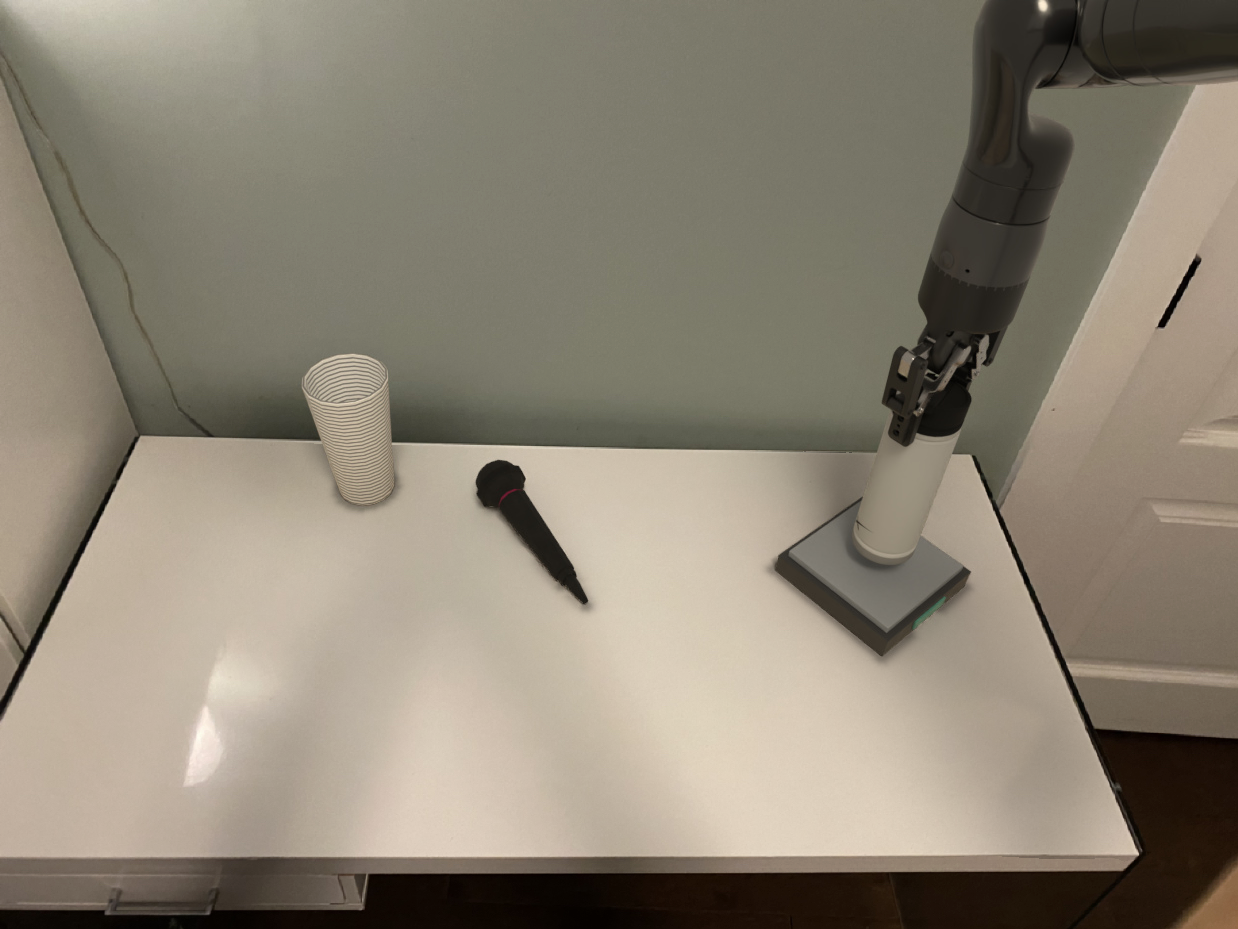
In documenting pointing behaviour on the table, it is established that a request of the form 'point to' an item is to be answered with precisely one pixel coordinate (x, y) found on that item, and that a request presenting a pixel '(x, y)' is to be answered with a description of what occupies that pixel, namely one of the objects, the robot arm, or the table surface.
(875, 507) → the travel mug
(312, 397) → the cup
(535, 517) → the microphone
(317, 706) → the table surface
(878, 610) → the scale
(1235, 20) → the robot arm
